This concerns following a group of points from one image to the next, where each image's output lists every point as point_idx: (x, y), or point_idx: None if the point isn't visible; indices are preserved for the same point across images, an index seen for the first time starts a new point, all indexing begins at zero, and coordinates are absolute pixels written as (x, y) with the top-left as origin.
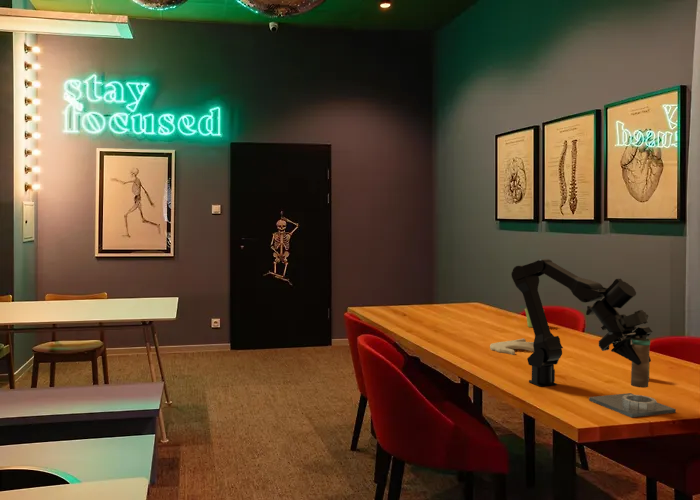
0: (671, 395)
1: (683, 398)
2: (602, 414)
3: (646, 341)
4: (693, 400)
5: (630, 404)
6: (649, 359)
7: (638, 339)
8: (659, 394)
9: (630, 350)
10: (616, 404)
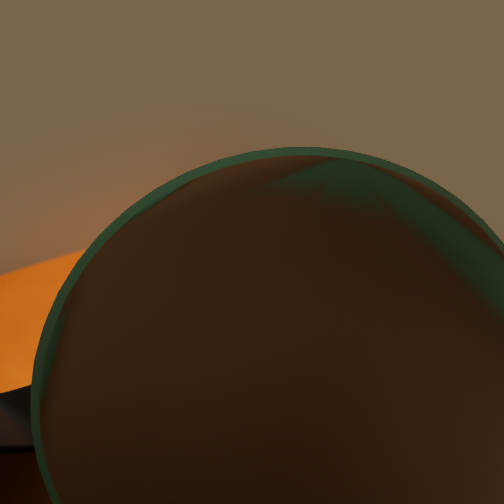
0: (10, 335)
1: (23, 297)
2: None
3: (443, 202)
4: (30, 268)
5: None
6: None
7: (429, 469)
8: (17, 371)
9: None
10: None
